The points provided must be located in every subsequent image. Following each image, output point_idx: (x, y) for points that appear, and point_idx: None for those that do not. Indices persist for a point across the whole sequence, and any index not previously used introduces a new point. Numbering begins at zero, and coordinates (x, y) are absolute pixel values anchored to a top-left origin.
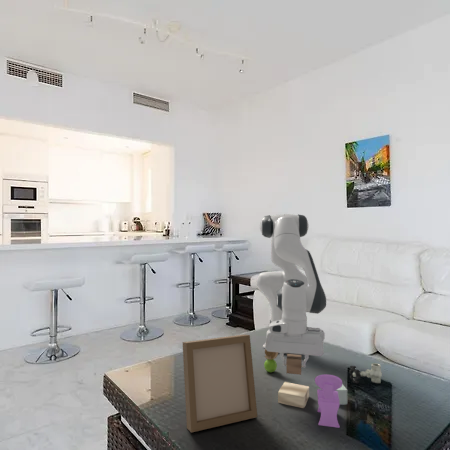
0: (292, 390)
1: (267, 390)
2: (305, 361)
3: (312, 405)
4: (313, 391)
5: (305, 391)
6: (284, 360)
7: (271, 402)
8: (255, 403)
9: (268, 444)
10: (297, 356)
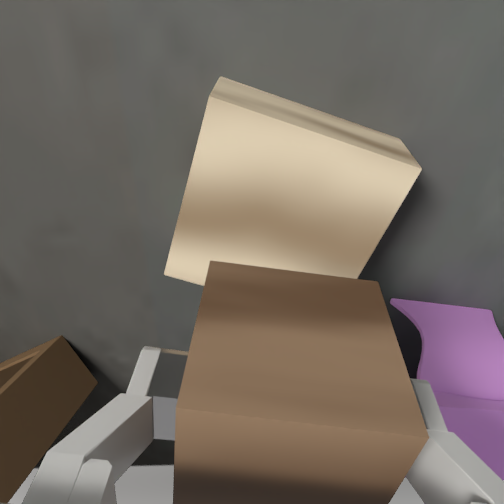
0: (266, 248)
1: (82, 71)
2: (426, 484)
3: (384, 246)
4: (472, 36)
5: (362, 252)
6: (153, 436)
7: (140, 237)
8: (64, 425)
9: (165, 462)
10: (340, 477)
